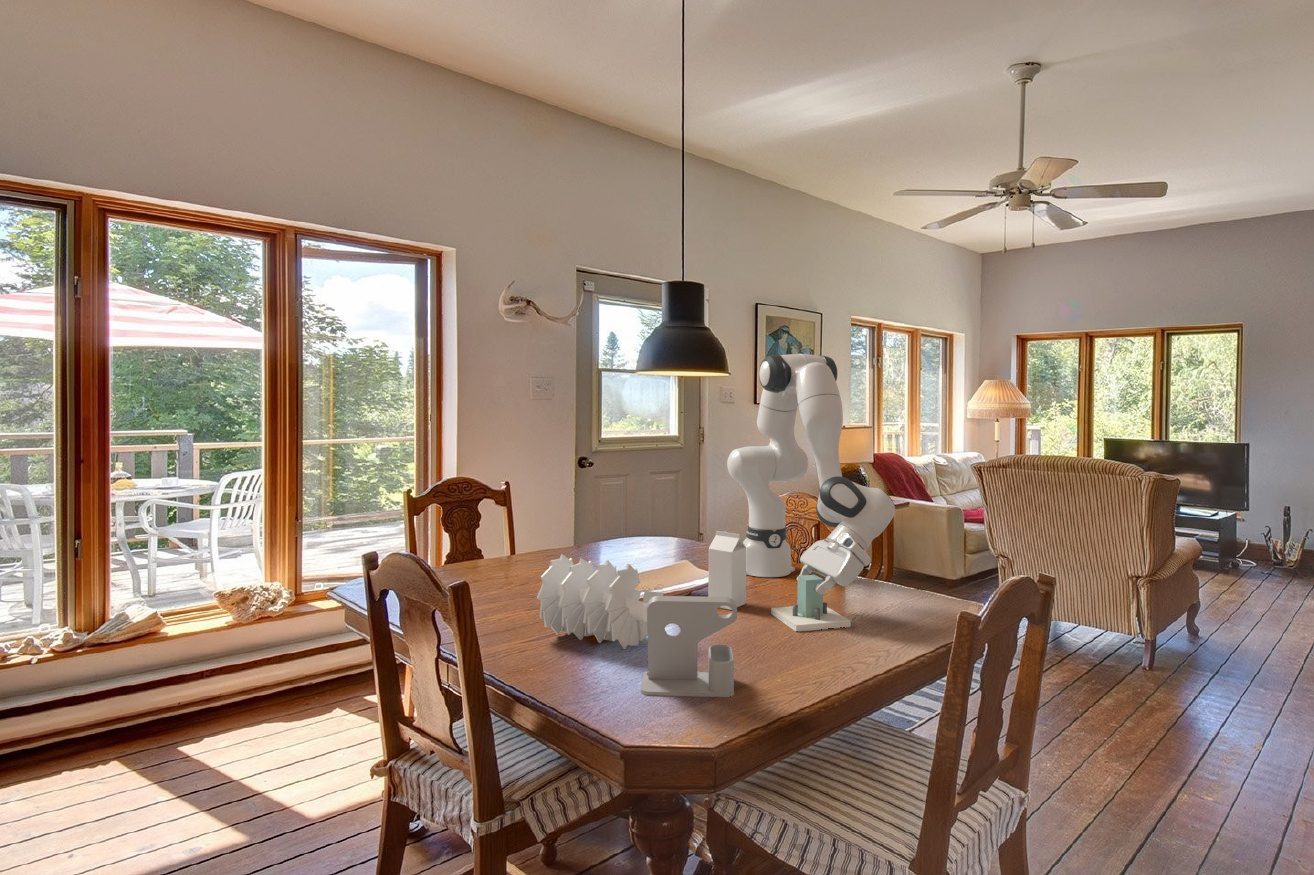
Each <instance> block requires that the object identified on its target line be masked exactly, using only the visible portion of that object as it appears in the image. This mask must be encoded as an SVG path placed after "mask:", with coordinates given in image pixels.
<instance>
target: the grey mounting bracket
mask: <svg viewBox="0 0 1314 875" xmlns="http://www.w3.org/2000/svg"><path fill="white" fill-rule="evenodd" d="M721 606H729V607H730V608H731V609H732V610H731V612H730V613H728V614H720V613H718V609H720V608H719V607H721ZM737 619H738V607H737V605H736V602H735V601H734V600H733V599H731V598H729V597H708V596H697V595H694V596H693V595H692V596H689V595H688V596H685V595H683V596H682V595H663V596H654V597H652V598H651V599H650V600H649V601H648V605H647V634H648V636H647V671H644V672H643V674H642V680H641V684H640V693H641V695H643V696H663V697H664V696H666V697H667V696H669V697H704V698H705V697H706V698H709V697H710V698H713V697H714V698H731V697H734V696H735V687H734V686H735V658H734V650H733V648H732V647H731V646H729V645H726V644H713V645H710V646H709V647H708V654H707V656H708V660H707V663H708V664H707V667H708V670H707V671H698V653H699V652H698V649H699V648H698V646H699V645H698V644H699V643H700V642H701V641H702V640H704V639H706V638H708V637H710V636H712V635H714V634H715V633H717V632H719V631H721V630H723V629H724V628H727V627H728V626H730V625H731V624H733V623H735V622H736V621H737ZM670 624H674V625H677V626H678V627H679V629H680V631H679V632H678V633H677V634H674V635H672V634H671V635H670V634H668V632H667V631H666V627H667V626H669V625H670ZM730 696H731V697H730Z"/></svg>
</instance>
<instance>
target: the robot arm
mask: <svg viewBox="0 0 1314 875" xmlns="http://www.w3.org/2000/svg"><path fill="white" fill-rule="evenodd" d="M758 371H759V372H758V380H759V383H760V386H762V390H761V391H762V392H761V396H760V401H759V407H758V412H757V418H756V426H757V429H758V431H759V432H760V434H762V435H763V436H764V437H767V438H768V439H769V444H768V445H751V446H750V445H749V446H743V447H739V448H735V449H733V450H731V452H730V454H729V455H728V457H727V460H726V467H727V468H726V469H727V471H728V474H729V475H730V477H731V478H732V479H733V480H734V481H735V482H737V483H738V484H739V486H741V488H742V490H743V491H744V494H745V496H746V499H747V503H748V504H747V505H748V525H747V526H746V527H747V528H746V534H745V539H744V540H743V541H742V542H743V544H744V545H745V546H746V576H752V577H753V576H754V577H759V578H780V577H781V578H782V577H785V576H788V575H790V574H791V573H793V572H795V571H796V568H795V566H792V556H791V555H792V554H791V545H790V544H789V543H788V542H787V536H788V531H787V530H788V529H787V527H786V507H787V506H786V503H785V500H784V499H783V498H782V497H781V496H779V495H777V494H776V493H774V492H772V491H771V490H772V489H771V487H770V482H771V483H773V482H791V481H795V480H798V479H801V478H803V477H804V476H805V475H806V474H807V471H808V468H809V458H808V456H807V453H806V452H805V450H804V449H803V448H801V446H799V444H798V443H797V440H796V437H795V424H796V417H797V411H798V410H799V415H800V420H801V422H802V425H803V428H804V431H805V433H806V437H807V438H808V441H809V445H810V447H811V451H812V453H813V454H812V455H813V458H814V463H815V469H816V474H817V482H818V490H819V491H818V492H819V494H818V496H817V501H816V505H815V512H816V515H817V518H818V519H819V520H820V522H822V523H823V524H824V525H826V526H828V527H831V528H834V529H833V530H832V532H831V533H829V535H828V536H827V537H825V538H823V539H820V540H817V541H815V542H814V543H813V544H812V545H810V546H809V548H807V549H806V550H805V551H804V553H802V554H801V556H800V558H799V561H800V562H801V564H802V565H803V566H802V568H801V570H800V574H799V575H798V576H802V575H812V573H815V574H817V575H820V576H822V577H824V579H825V580H823V582H822V583H821V584H817V586H816V587H815V588H814V590H815V591H816V592H817V593H818V594H820V595H822V594H823V595H824V593H825V592H826V591H827V590H829V589H830V588H832V587H834V586H835V585H836V584H838V585H840V586H842V587H843V588H844V587H847V586H849V585H850V584H851V583H853V582H854V580H856V578H858V576H860V574H861V573H862V571H863V569H864V567H868V565H870V564H871V562H872V558H871V557H870V555H869V554H868V553H867V552H866V551H867V550H868V549H869V548H870V545H871V543H872V542H873V540H874V539H876V538H877V537H879V536H880V535H881V534H882V533H883V532H884V531H885V529H886V528H887V527H888V526H889V524H890V522H892V520H893V518H894V516H895V514H896V506H895V503H894V502H893V499H892V498H891V497H890V495H889V494H887V492H886V491H885V490H883V489H881V488H879V487H869V486H864V485H861V484H859V483H857V482H855V481H852V480H850V479H849V478H847V477H845V476H843V474H842V468H841V462H840V456H839V455H840V453H839V449H840V448H839V447H840V440H841V434H842V429H843V423H844V422H843V420H844V419H843V418H844V417H843V416H844V415H843V414H844V413H843V411H844V410H843V404H842V399H841V398H842V397H841V394H840V391H839V386H838V384H837V380H838V367H837V365H836V362H835V361H834V359H833V358H831V357H830V356H827V355H822V354H818V355H816V354H810V353H809V354H807V353H795V354H794V353H793V354H792V353H791V354H790V353H789V354H771V355H767V356H765V357H764V359H762V361H761V363H760V366H759V370H758ZM798 576H797V577H796V579H795V580H796V581H797V582H798Z"/></svg>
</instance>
